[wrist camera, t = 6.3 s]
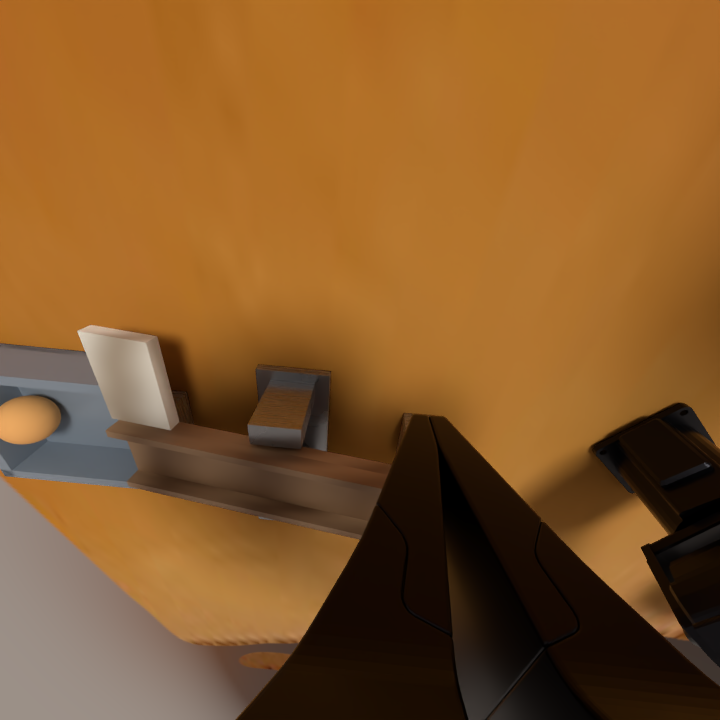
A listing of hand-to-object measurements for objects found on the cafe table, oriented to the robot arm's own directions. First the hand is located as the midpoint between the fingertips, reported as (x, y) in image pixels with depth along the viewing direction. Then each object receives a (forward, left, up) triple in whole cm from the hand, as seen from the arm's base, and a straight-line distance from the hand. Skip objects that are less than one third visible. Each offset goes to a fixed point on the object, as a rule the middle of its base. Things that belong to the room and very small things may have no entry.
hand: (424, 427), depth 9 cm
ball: (+12, +25, -10) cm, 29 cm away
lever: (0, +11, -9) cm, 14 cm away
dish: (+10, +23, -12) cm, 28 cm away
